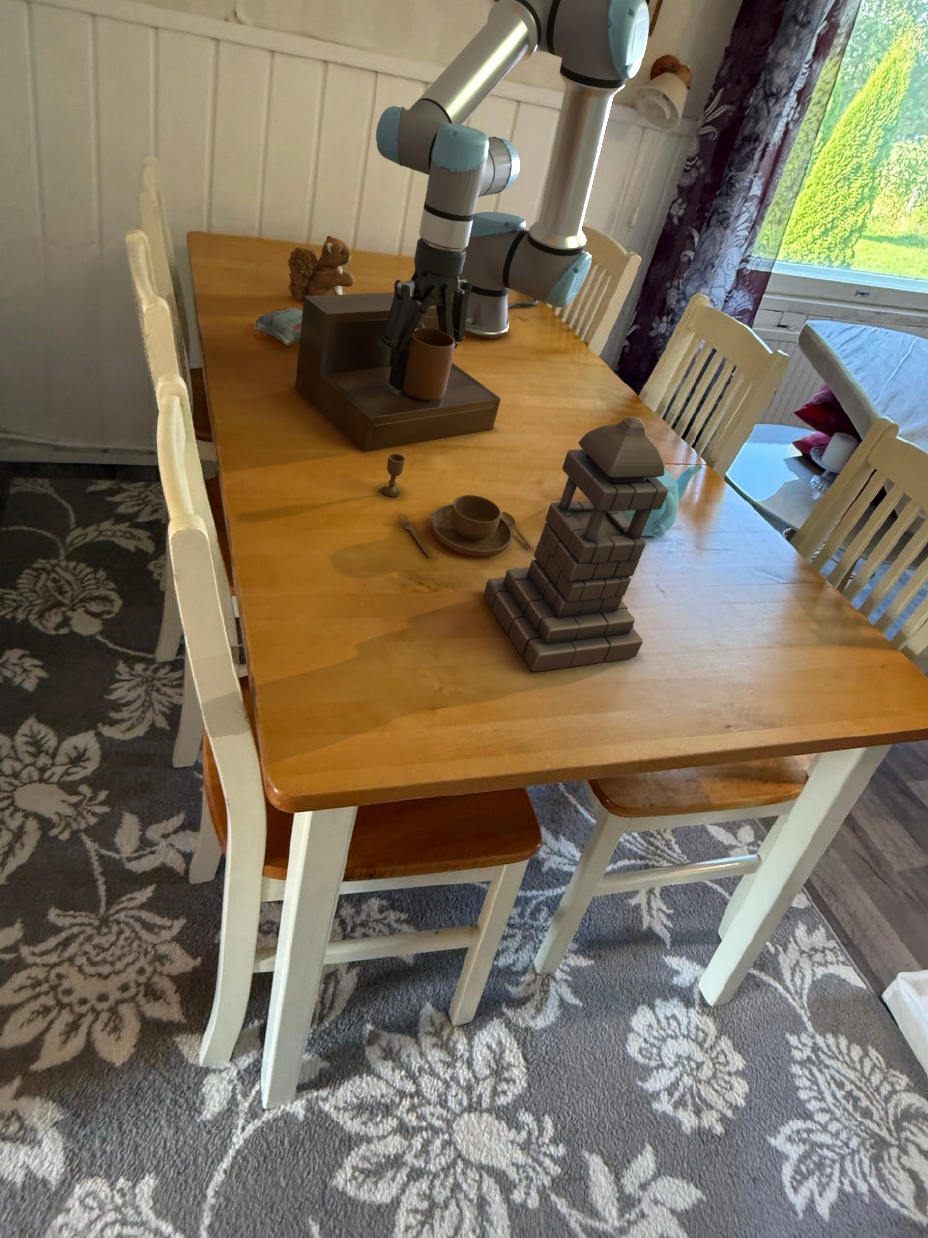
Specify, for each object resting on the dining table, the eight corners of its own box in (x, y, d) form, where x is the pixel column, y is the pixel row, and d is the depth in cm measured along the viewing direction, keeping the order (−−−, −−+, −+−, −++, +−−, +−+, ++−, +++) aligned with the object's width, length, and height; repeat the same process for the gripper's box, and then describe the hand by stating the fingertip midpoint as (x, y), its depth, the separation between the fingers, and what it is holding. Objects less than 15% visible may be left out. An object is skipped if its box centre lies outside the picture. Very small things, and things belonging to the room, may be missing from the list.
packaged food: (329, 341, 164) (331, 316, 161) (285, 354, 156) (287, 328, 153) (295, 325, 167) (297, 300, 164) (251, 336, 159) (252, 310, 156)
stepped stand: (492, 429, 151) (515, 342, 141) (364, 451, 135) (379, 356, 125) (421, 373, 162) (437, 289, 152) (294, 388, 146) (303, 295, 136)
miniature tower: (531, 674, 103) (610, 455, 84) (481, 596, 112) (543, 385, 94) (639, 658, 110) (735, 453, 91) (584, 586, 119) (660, 388, 101)
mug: (385, 368, 145) (394, 314, 139) (426, 369, 148) (436, 316, 143) (408, 401, 137) (418, 346, 132) (451, 402, 141) (463, 348, 135)
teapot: (579, 525, 133) (601, 464, 125) (609, 487, 143) (631, 428, 136) (654, 560, 130) (681, 500, 123) (678, 518, 140) (705, 460, 133)
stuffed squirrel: (348, 317, 176) (356, 252, 167) (279, 302, 174) (284, 235, 166) (353, 301, 183) (362, 237, 175) (288, 286, 182) (293, 221, 174)
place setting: (432, 568, 115) (440, 532, 111) (374, 488, 127) (380, 453, 124) (539, 554, 123) (550, 520, 119) (475, 480, 136) (484, 447, 132)
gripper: (478, 233, 136) (449, 368, 150) (372, 233, 124) (351, 379, 138) (508, 251, 132) (475, 387, 146) (401, 252, 120) (377, 400, 134)
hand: (415, 383), depth 142 cm, fingers closed on mug, 7 cm apart
